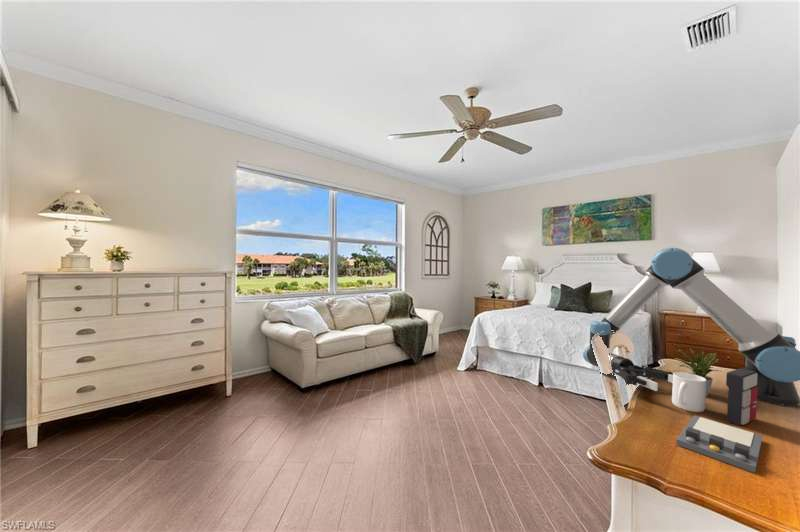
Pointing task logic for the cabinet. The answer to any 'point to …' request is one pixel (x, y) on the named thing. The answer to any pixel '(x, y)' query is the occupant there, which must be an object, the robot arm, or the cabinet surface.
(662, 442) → the cabinet surface
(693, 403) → the mug
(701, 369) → the house plant
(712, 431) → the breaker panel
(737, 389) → the dark grey box
